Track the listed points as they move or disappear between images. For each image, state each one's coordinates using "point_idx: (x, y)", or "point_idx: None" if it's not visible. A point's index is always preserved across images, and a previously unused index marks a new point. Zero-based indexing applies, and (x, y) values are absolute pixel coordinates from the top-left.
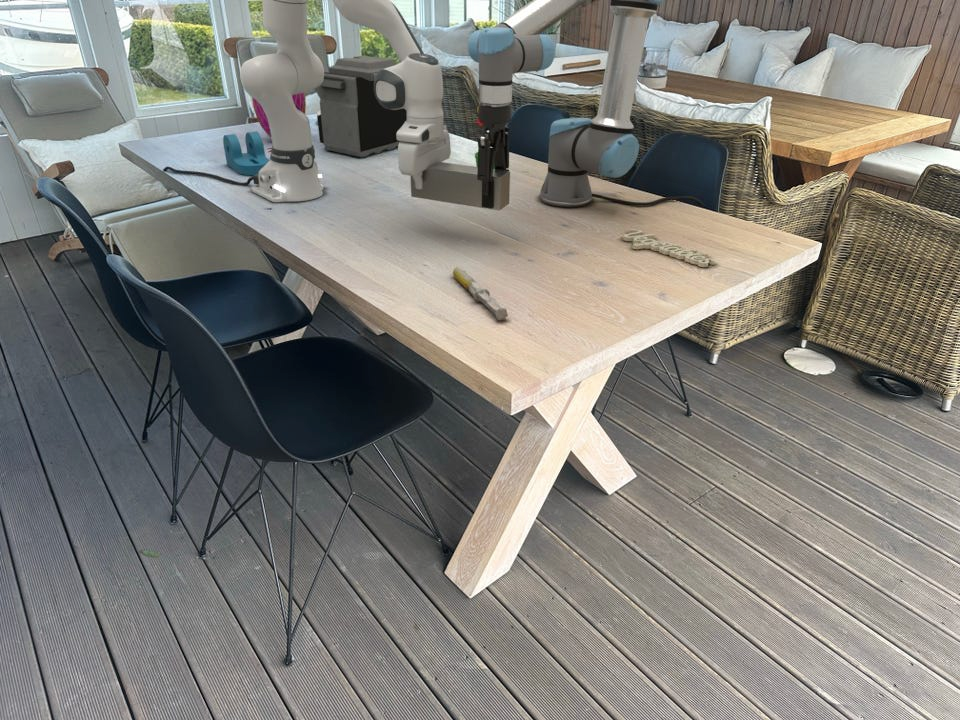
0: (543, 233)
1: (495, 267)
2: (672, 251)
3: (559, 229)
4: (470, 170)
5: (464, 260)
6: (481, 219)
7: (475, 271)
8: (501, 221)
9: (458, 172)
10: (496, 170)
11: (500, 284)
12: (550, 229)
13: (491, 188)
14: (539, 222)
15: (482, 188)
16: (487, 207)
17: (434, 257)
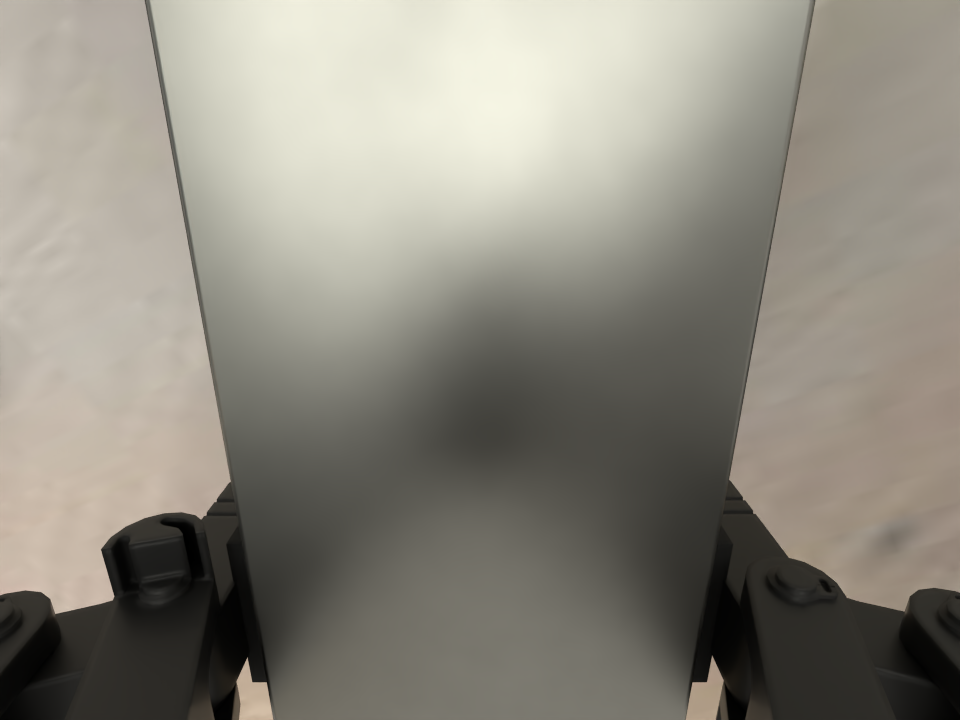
0: (740, 490)
1: (195, 455)
2: None
3: (826, 536)
4: (403, 247)
5: (174, 283)
6: (896, 49)
7: (91, 395)
8: (884, 204)
9: (155, 3)
10: (634, 665)
11: (49, 539)
12: (813, 500)
13: None
14: (917, 416)
15: (203, 517)
16: None
17: (97, 96)
